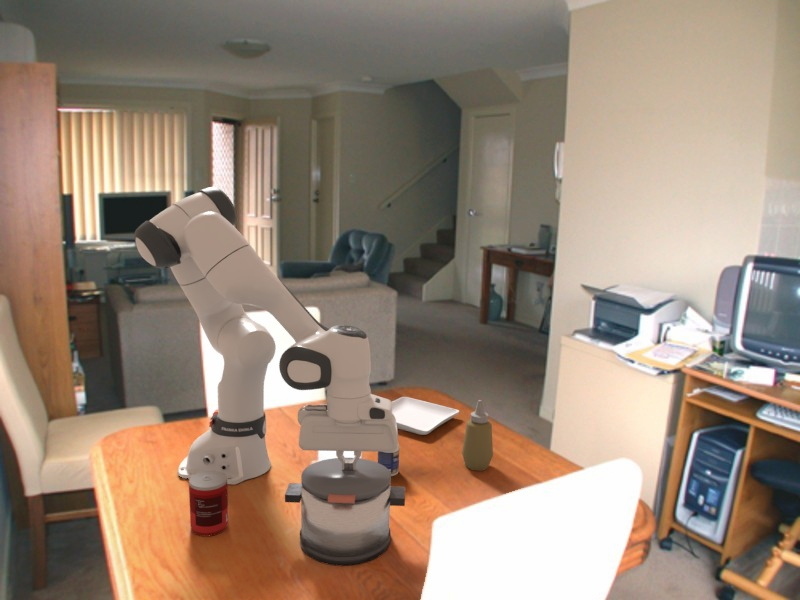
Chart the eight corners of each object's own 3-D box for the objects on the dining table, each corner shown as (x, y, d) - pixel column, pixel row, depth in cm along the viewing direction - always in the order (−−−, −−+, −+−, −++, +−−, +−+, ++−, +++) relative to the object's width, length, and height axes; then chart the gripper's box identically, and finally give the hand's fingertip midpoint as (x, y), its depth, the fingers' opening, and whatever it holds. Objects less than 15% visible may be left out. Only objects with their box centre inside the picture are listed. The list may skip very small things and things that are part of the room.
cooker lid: (293, 503, 122) (293, 495, 122) (308, 463, 141) (308, 456, 141) (389, 506, 122) (389, 498, 122) (391, 465, 141) (391, 459, 141)
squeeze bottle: (489, 459, 174) (493, 395, 171) (494, 473, 166) (499, 406, 163) (459, 459, 174) (462, 395, 170) (463, 473, 166) (466, 406, 162)
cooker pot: (278, 563, 126) (278, 506, 123) (295, 511, 145) (295, 460, 143) (403, 567, 126) (405, 510, 123) (403, 515, 145) (405, 464, 142)
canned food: (213, 513, 143) (212, 466, 141) (236, 526, 138) (235, 478, 136) (182, 527, 137) (180, 478, 135) (204, 541, 132) (203, 491, 130)
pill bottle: (396, 478, 162) (397, 441, 160) (375, 475, 163) (376, 439, 161) (400, 468, 167) (401, 433, 165) (380, 466, 168) (381, 430, 166)
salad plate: (460, 419, 203) (461, 408, 202) (426, 442, 185) (427, 430, 184) (402, 405, 214) (403, 395, 213) (365, 425, 196) (365, 414, 195)
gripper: (294, 410, 129) (296, 475, 131) (398, 411, 129) (397, 477, 131) (300, 399, 135) (301, 462, 138) (398, 401, 135) (397, 463, 137)
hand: (348, 469), depth 134 cm, fingers closed, pressing on cooker lid
